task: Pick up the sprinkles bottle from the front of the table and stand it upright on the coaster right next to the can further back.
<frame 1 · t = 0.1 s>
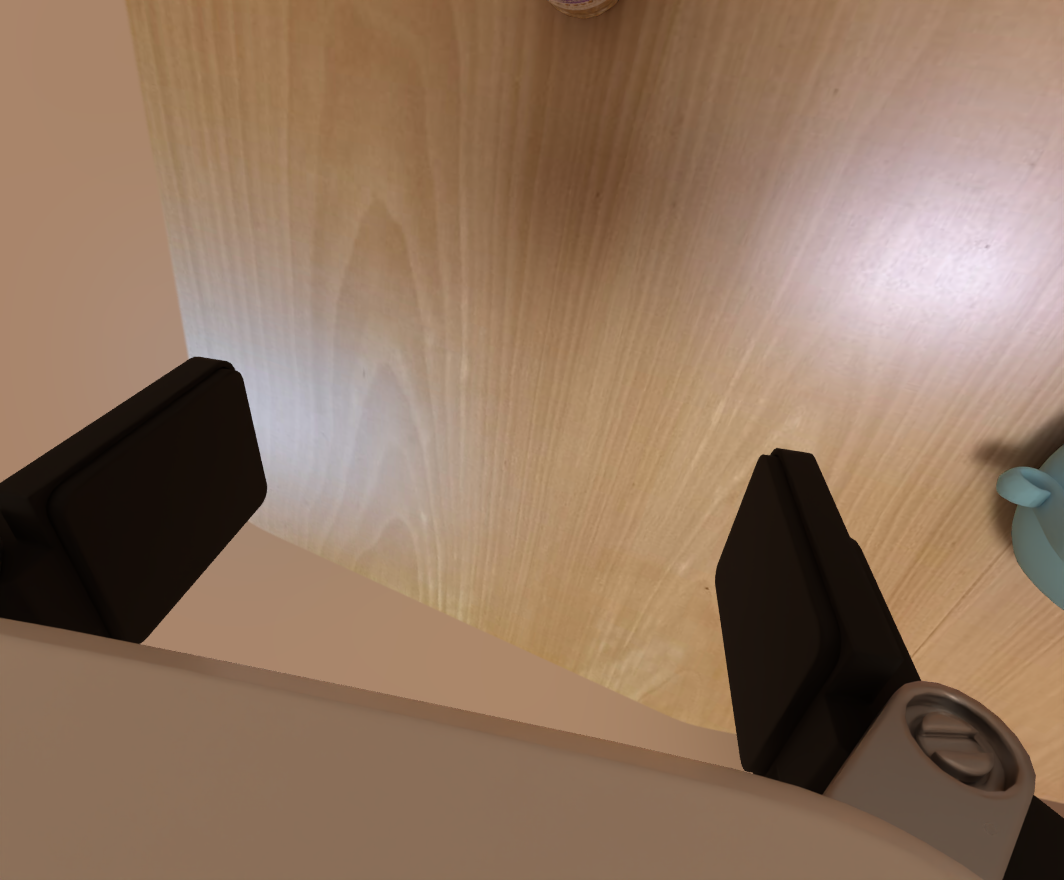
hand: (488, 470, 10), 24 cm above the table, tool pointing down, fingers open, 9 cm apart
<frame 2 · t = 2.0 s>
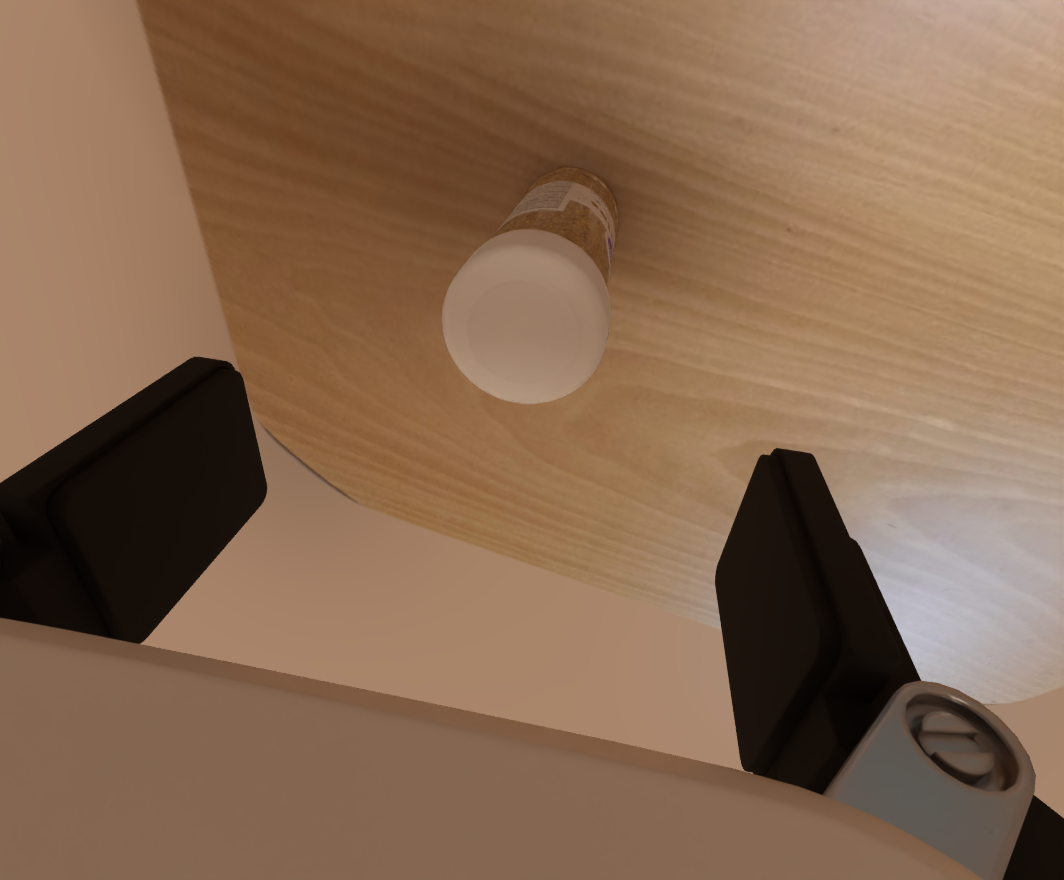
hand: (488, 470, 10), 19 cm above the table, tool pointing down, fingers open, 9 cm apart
sprinkles bottle: (569, 217, 26), on the table
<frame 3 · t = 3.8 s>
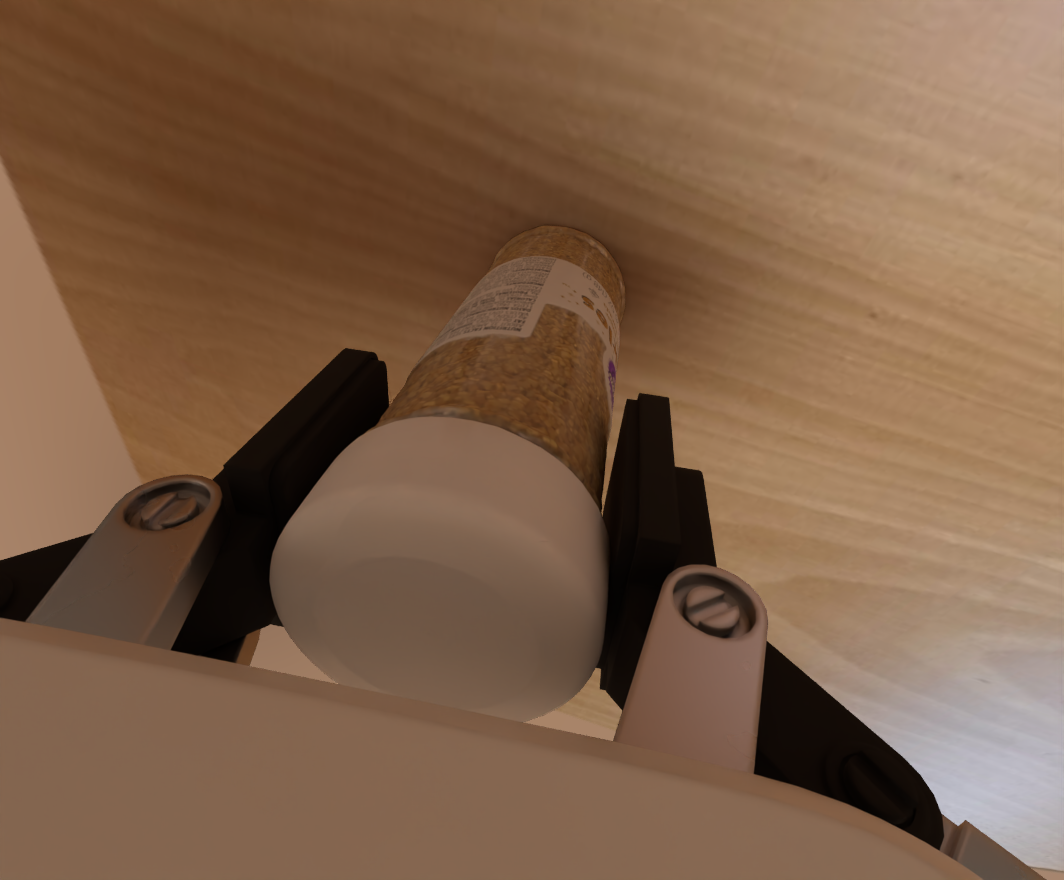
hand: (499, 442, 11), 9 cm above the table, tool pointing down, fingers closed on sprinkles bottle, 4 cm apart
sprinkles bottle: (555, 291, 19), on the table, touching gripper
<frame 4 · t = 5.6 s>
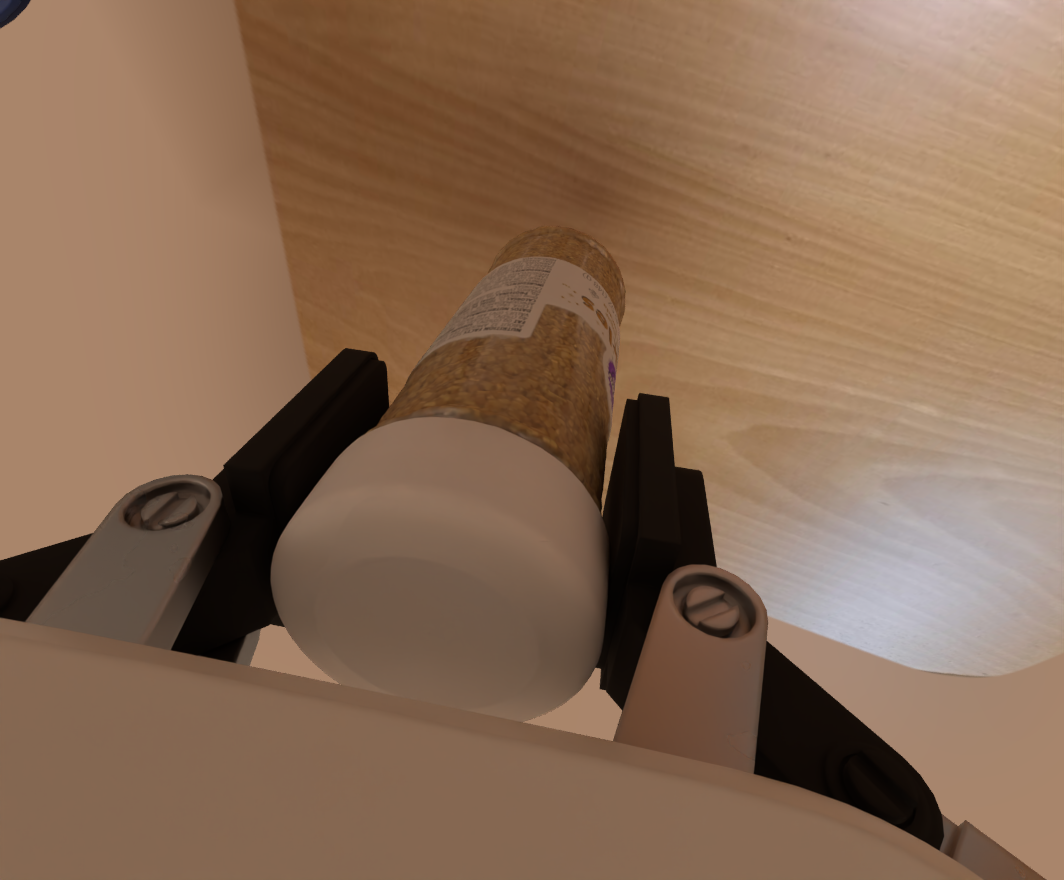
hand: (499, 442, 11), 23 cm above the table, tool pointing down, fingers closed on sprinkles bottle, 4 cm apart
sprinkles bottle: (555, 291, 19), point 14 cm above the table, touching gripper
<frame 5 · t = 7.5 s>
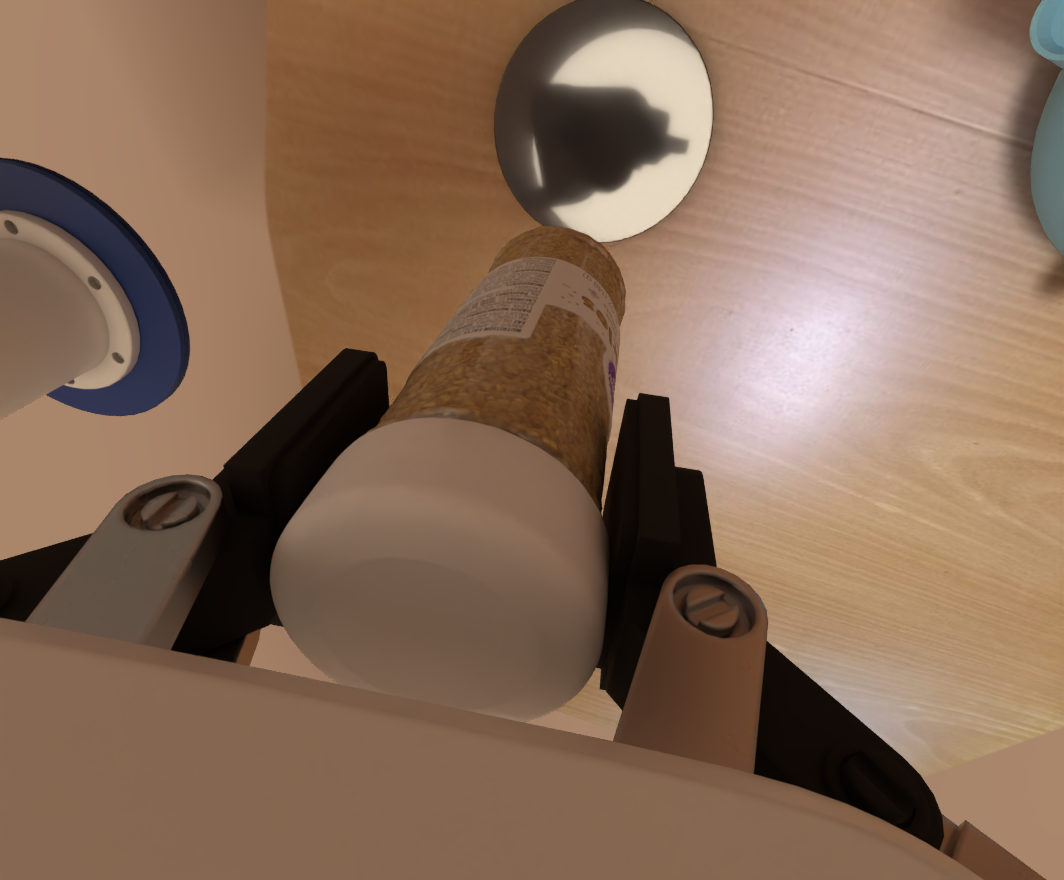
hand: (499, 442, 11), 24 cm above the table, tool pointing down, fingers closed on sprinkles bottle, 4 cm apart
sprinkles bottle: (555, 292, 19), point 15 cm above the table, touching gripper
coaster: (600, 131, 29), on the table
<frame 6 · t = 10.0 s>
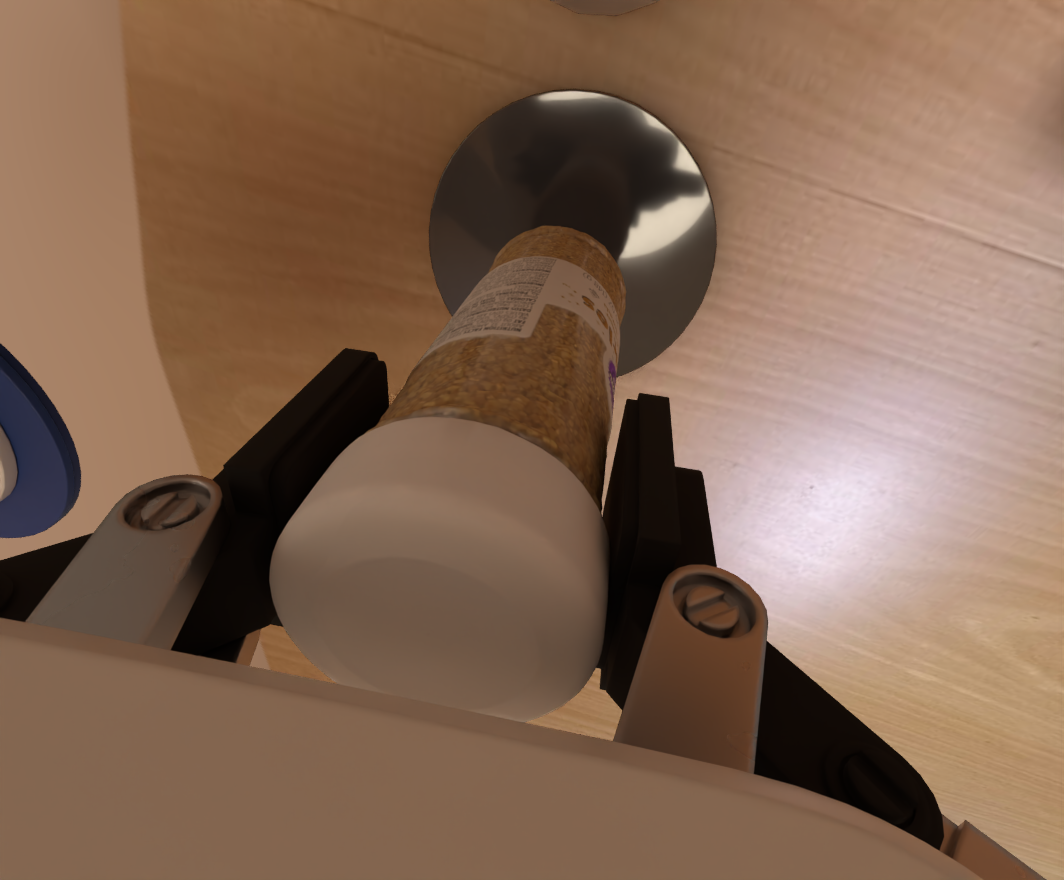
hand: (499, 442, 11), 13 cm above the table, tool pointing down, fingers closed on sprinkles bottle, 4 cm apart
sprinkles bottle: (555, 291, 19), point 5 cm above the table, touching gripper
coaster: (568, 253, 22), on the table
when the fingers open (9 cm above the table, at t = 11.4 s): sprinkles bottle stays where it is, resting on coaster.
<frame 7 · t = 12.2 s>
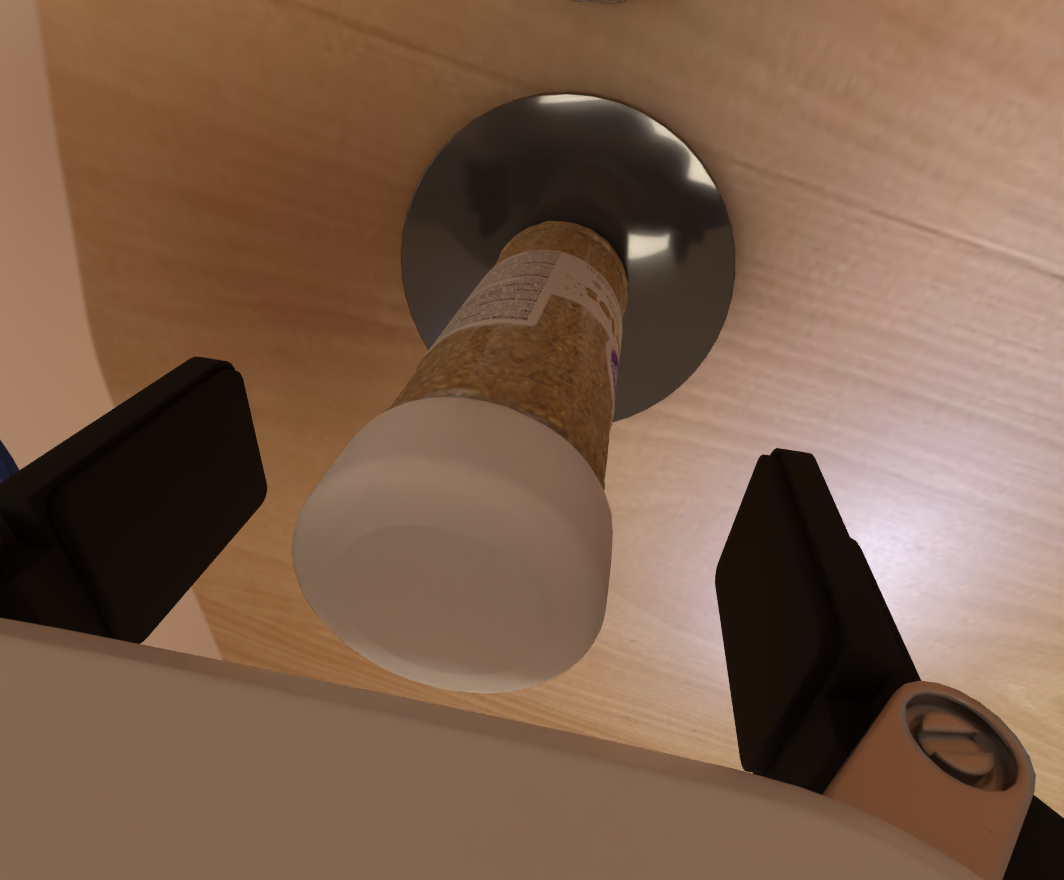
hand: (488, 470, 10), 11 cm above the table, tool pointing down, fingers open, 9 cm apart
sprinkles bottle: (559, 285, 19), resting on coaster
coaster: (562, 282, 19), on the table
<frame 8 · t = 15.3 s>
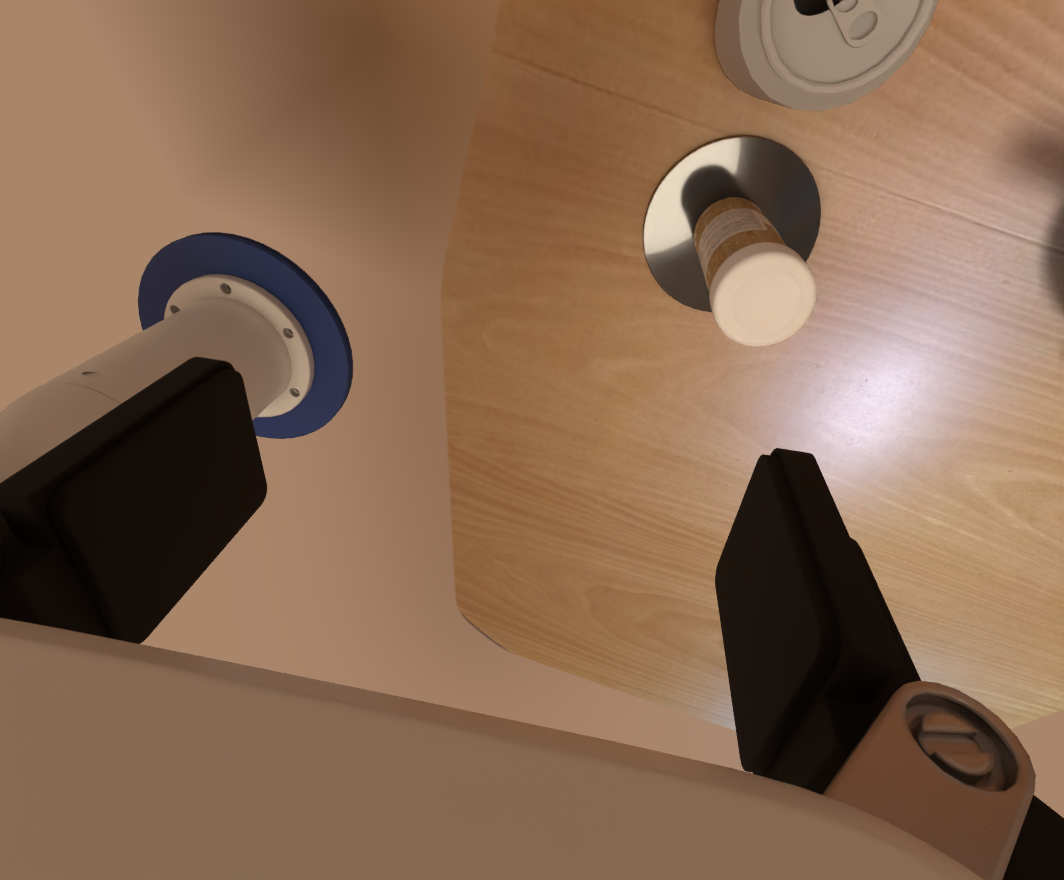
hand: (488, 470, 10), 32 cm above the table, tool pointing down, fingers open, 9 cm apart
can: (782, 19, 31), on the table
sprinkles bottle: (727, 231, 37), resting on coaster
coaster: (728, 229, 37), on the table
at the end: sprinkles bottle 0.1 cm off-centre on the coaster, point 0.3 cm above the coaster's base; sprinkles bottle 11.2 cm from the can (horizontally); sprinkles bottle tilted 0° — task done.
